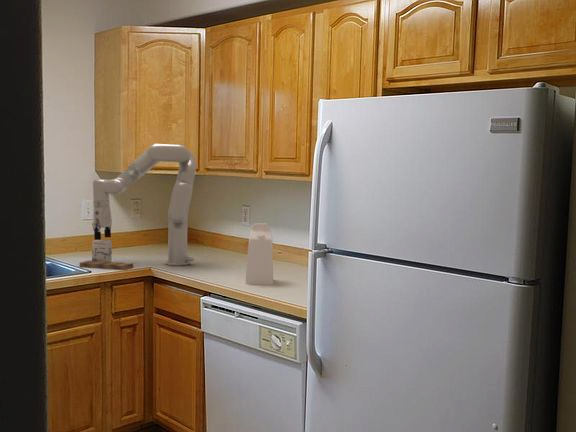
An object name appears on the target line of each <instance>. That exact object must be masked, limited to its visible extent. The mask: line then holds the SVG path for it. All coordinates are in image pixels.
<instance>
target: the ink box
mask: <svg viewBox="0 0 576 432" xmlns="http://www.w3.org/2000/svg"><path fill="white" fill-rule="evenodd" d="M112 247H113V240H109V239H101V240H95V239H93V240H92V245H91V248H92V249H91V260H92V261H107V262H112V254H113V251H112V249H113V248H112Z"/></svg>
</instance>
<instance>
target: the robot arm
mask: <svg viewBox="0 0 576 432" xmlns="http://www.w3.org/2000/svg"><path fill="white" fill-rule="evenodd" d="M160 162H165V163H167V162H169V163H178V171H177V177H176V181H175V184H174V185H173V188H172V192H171V197H170V201H169V206H168V210H167V216H168V229H167V230H168V234H167V237H168V238H167V240H168V242H167V260H165V261H164V264H165V265H167V266H187V265H190V264H191V262H195V257H193V256H191V257H190V255H189V254H188V223H189V221H188V220H189V219H188V218H189V217H188V216H189V209H190V205H191V200H192V196H193V192H194V191H193V186H194V181H195V177H196V170H197V161H196V158H195V156H194V154H193V153H192V151H191V150H189V149H188V148H187V147H186V146H185V145H183V144H165V143H152V144H151V145H150V146H149V147H148V148H147V149H145V151H144V152H142V153H141V154H140V155H139V156H138V157H136V158H135V159H134V160H132V161H131V163H130V164H129V166H128V167H127V168H126V169H125V170H124V171H123V172H121V173H120V174H119V175H118V176H117V177H116V178H113V179H105V178H102V179H101V178H100V179H99V178H98V179H94V180H93V181H92V196H93V209H94V210H93V222H92V223H91V225H92V229H93V234H94V235H93V236H94V238H93V239H94V240H102V233H101V229H102V228H104V230H103V231H104V238H112V232H111V231H112V230H111V229H112V224H113V223H112V222H113V220H112V212H111V211H112V209H111V207H110V206H111V205H110V194H111V195H112V194H113V195H119V194H121V193H123V192H124V191H126V190H127V189H128V188H129V187H131V186H132V185H133V184H135V182H137V180H139V179H140V178H142V177H143V176H144V175H145V174H146V173H148V172H149V171H150V170H151V169H153V168H154V167H155V166H156V165H157V164H159V163H160Z"/></svg>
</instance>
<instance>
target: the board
mask: <svg viewBox="0 0 576 432" xmlns="http://www.w3.org/2000/svg"><path fill="white" fill-rule="evenodd" d="M80 267H81V268H90V269H105V270H119V271H120V270H121V271H127V270H130V269H132V268H134V263H133V262H120V261H119V262H118V261H111V262H107V261H92V259H90V260H88V259H87V260H84V261H80V262H79V268H80Z"/></svg>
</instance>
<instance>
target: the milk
mask: <svg viewBox="0 0 576 432" xmlns="http://www.w3.org/2000/svg"><path fill="white" fill-rule="evenodd" d="M273 242H274V241H273V235H272V231H271V228H270V226H269V223H268V222H267V223H264V222H263V223H260V222H257V223H256V222H255V223H254V224H253V225H252V228H251V230H250V234H249V239H248V244H247V259H246V271H245V272H246V273H245V285H267V286H268V285H271V286H274V254H273V253H274V249H273V248H274V245H273Z"/></svg>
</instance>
